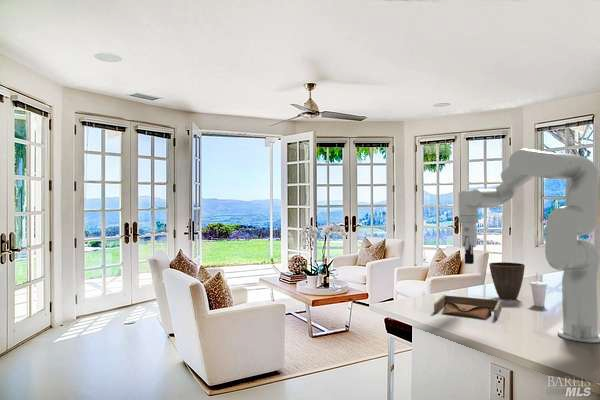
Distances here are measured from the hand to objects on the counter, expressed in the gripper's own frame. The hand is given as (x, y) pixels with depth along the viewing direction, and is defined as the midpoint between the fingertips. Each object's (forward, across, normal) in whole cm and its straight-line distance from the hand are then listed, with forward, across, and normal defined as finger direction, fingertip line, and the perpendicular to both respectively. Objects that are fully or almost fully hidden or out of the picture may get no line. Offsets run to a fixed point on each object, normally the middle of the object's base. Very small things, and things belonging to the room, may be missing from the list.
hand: (469, 263), depth 177 cm
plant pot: (+19, +30, -12) cm, 38 cm away
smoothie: (+19, +20, -25) cm, 38 cm away
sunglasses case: (+20, -11, 0) cm, 22 cm away
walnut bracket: (+19, -5, 0) cm, 20 cm away
